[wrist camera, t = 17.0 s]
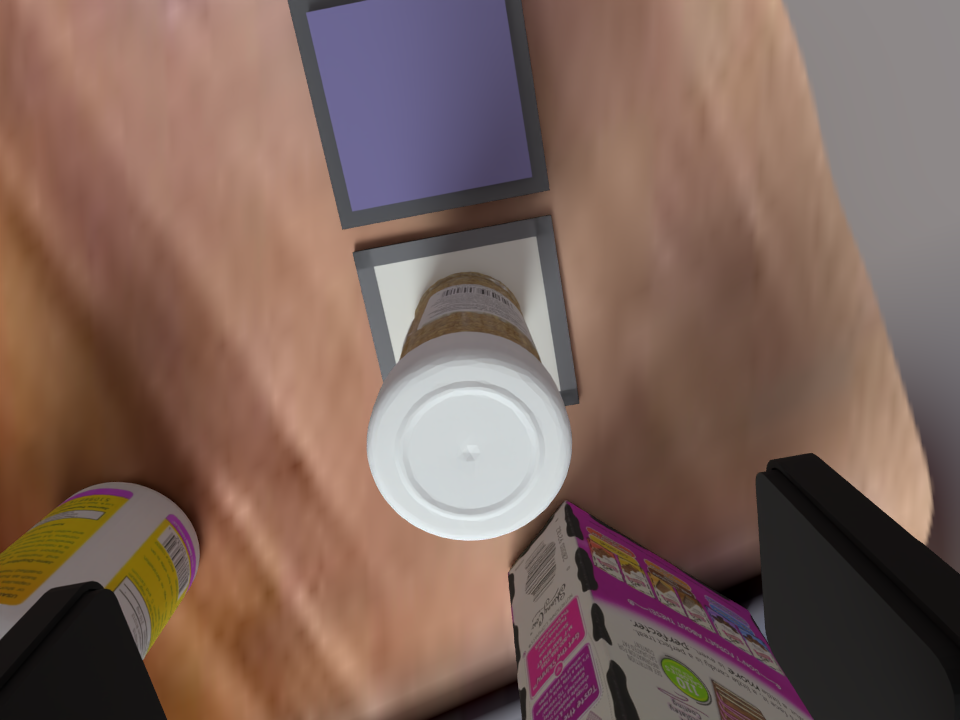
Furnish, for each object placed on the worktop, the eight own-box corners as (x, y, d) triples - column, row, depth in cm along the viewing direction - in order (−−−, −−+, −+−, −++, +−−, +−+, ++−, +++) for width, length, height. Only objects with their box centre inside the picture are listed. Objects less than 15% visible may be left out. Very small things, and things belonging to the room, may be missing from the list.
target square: (353, 251, 27) (352, 252, 26) (550, 214, 26) (550, 215, 26) (396, 433, 29) (396, 436, 28) (578, 401, 28) (579, 403, 28)
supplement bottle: (30, 552, 30) (-274, 816, 18) (105, 447, 29) (-169, 656, 16) (157, 629, 31) (-46, 927, 19) (234, 533, 30) (70, 786, 18)
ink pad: (296, 8, 24) (284, -4, 23) (512, -37, 24) (514, -51, 22) (348, 227, 26) (340, 230, 25) (546, 189, 26) (550, 190, 24)
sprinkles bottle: (396, 348, 27) (328, 496, 14) (445, 249, 26) (419, 312, 13) (494, 395, 28) (514, 579, 15) (545, 300, 27) (615, 409, 14)
